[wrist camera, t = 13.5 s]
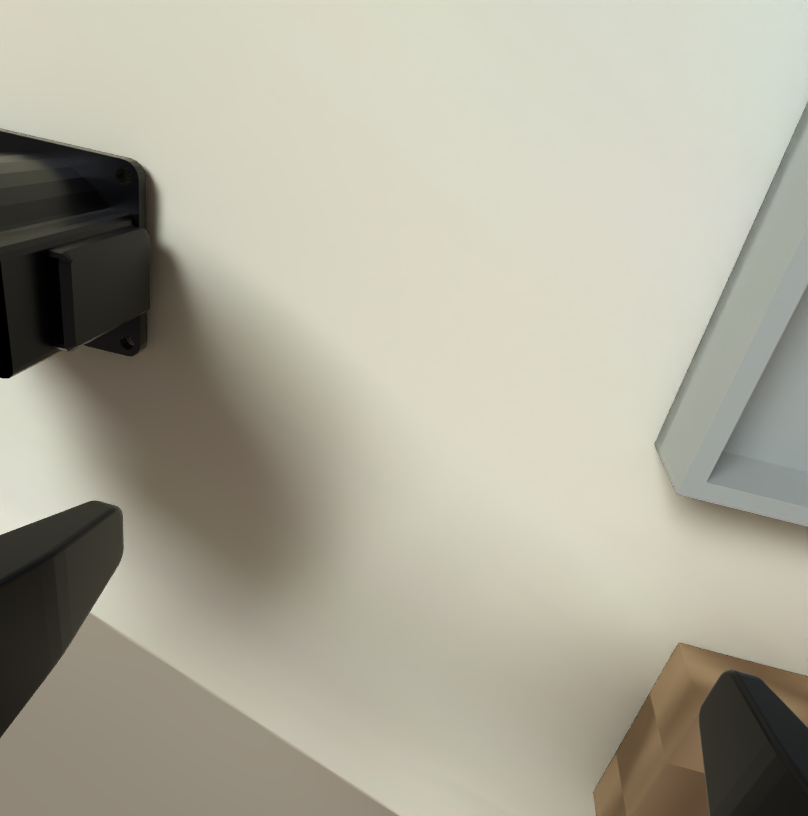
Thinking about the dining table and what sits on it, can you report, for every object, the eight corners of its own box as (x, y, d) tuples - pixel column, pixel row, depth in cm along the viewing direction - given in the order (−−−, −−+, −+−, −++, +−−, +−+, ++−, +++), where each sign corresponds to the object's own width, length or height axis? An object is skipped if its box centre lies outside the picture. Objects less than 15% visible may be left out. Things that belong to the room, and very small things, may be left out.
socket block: (593, 792, 28) (602, 863, 25) (678, 642, 23) (700, 710, 21) (810, 852, 27) (842, 932, 25) (940, 711, 23) (997, 790, 20)
